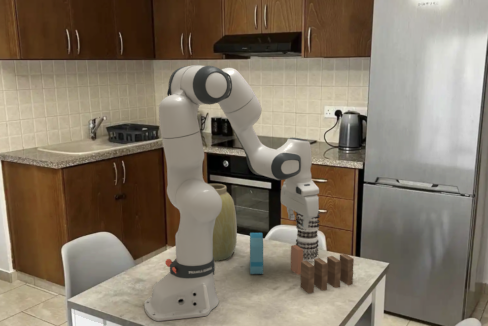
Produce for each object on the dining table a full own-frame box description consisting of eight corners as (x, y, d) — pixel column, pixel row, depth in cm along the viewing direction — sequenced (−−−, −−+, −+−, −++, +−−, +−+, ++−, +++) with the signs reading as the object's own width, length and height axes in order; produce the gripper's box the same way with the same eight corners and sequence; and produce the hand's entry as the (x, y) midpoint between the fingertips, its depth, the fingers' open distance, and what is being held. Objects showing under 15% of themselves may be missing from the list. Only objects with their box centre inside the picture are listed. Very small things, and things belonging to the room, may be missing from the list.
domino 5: (347, 285, 163) (348, 259, 162) (338, 279, 168) (339, 254, 166) (352, 284, 164) (353, 258, 162) (343, 278, 169) (344, 253, 167)
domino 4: (334, 287, 161) (335, 262, 160) (326, 281, 166) (327, 256, 164) (339, 286, 162) (340, 261, 160) (331, 280, 167) (332, 255, 165)
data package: (263, 275, 171) (263, 242, 169) (250, 275, 171) (250, 242, 169) (262, 262, 183) (262, 231, 180) (249, 262, 183) (249, 231, 180)
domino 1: (297, 274, 172) (298, 250, 170) (290, 269, 176) (291, 245, 174) (302, 273, 172) (303, 249, 171) (295, 268, 177) (296, 244, 175)
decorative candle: (292, 260, 184) (293, 195, 179) (297, 251, 193) (298, 189, 188) (316, 263, 182) (318, 197, 177) (320, 254, 190) (322, 191, 185)
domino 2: (308, 293, 157) (308, 267, 156) (300, 287, 162) (301, 261, 160) (313, 292, 158) (314, 266, 157) (305, 286, 163) (306, 260, 161)
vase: (188, 249, 196) (186, 183, 191) (229, 244, 201) (229, 180, 196) (197, 265, 180) (195, 193, 175) (242, 260, 185) (242, 190, 180)
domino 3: (321, 290, 159) (322, 264, 158) (313, 284, 164) (314, 259, 162) (326, 289, 160) (327, 263, 158) (318, 283, 165) (319, 258, 163)
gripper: (276, 179, 176) (276, 216, 179) (305, 192, 158) (305, 233, 161) (291, 177, 179) (291, 213, 182) (322, 190, 160) (321, 230, 163)
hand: (298, 223), depth 171 cm, fingers open, 8 cm apart
